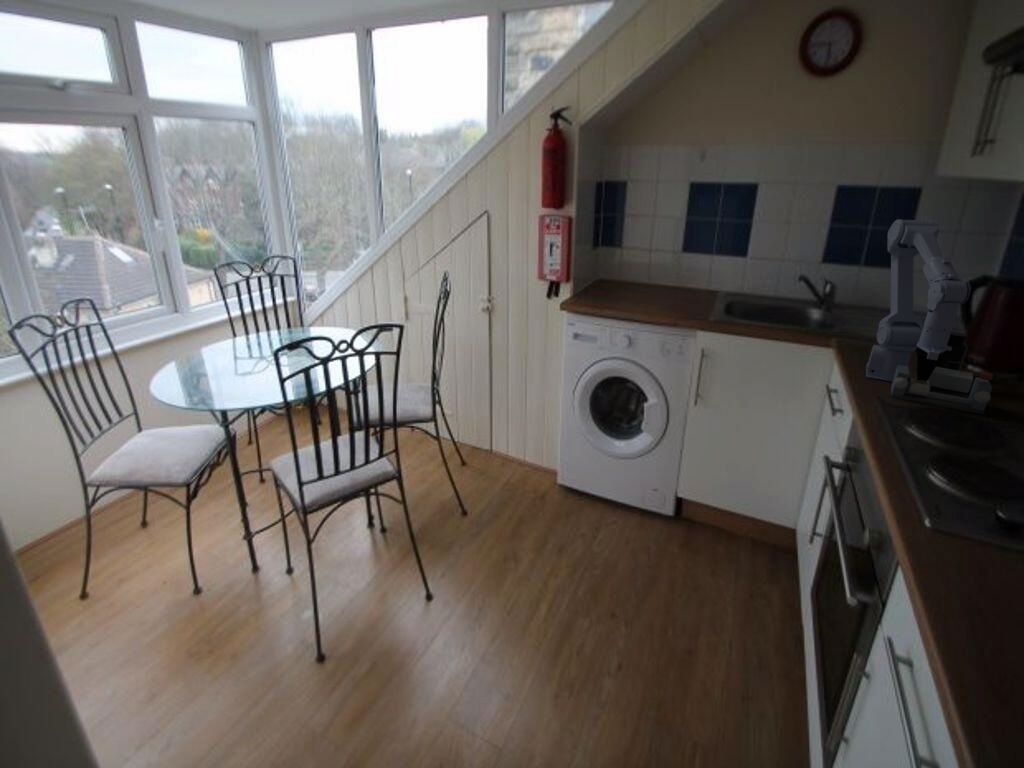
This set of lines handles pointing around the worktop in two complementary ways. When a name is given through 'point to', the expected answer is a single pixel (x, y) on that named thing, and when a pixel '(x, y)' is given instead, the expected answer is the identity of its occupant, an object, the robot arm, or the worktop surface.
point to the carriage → (918, 386)
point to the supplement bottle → (954, 352)
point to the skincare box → (951, 379)
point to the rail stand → (971, 404)
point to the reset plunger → (986, 376)
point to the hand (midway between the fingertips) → (921, 378)
